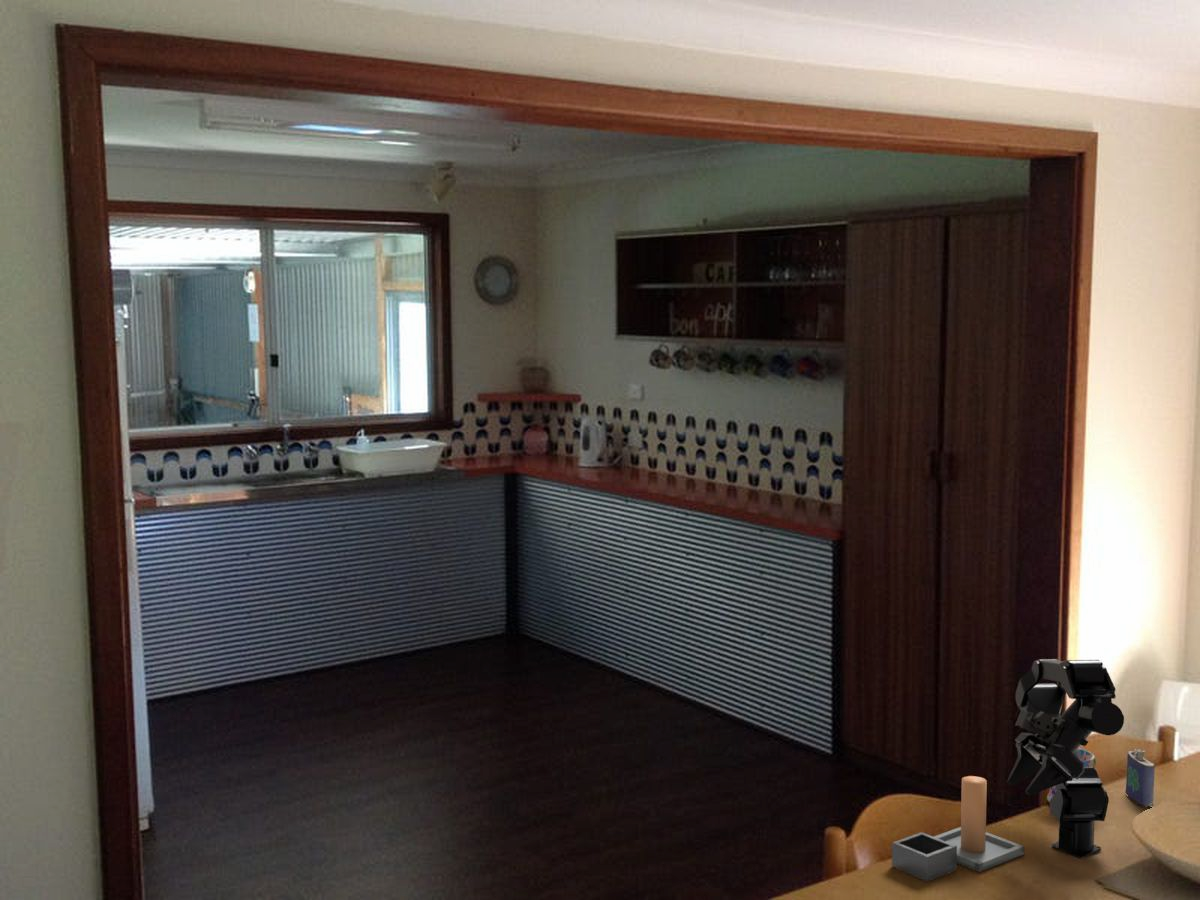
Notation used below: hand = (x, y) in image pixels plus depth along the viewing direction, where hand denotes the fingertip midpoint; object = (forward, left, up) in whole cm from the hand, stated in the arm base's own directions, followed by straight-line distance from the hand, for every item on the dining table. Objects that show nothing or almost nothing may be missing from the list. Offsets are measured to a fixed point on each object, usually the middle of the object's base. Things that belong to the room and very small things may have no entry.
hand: (1018, 789), depth 233 cm
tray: (+2, -8, -14) cm, 16 cm away
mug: (-34, -11, -14) cm, 38 cm away
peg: (+2, -8, -13) cm, 15 cm away
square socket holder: (+15, -8, -14) cm, 22 cm away
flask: (-46, -4, -14) cm, 48 cm away
